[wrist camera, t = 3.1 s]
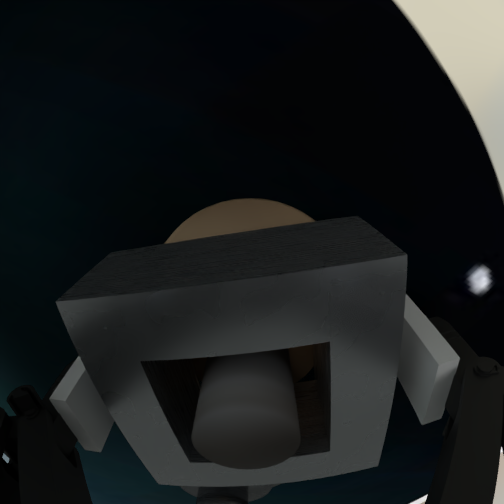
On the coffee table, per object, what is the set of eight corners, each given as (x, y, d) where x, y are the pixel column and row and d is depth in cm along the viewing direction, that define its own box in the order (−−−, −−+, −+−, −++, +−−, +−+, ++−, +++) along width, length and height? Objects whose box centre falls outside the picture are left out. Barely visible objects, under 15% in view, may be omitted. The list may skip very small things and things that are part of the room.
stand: (132, 217, 15) (16, 303, 6) (340, 184, 14) (447, 245, 6) (181, 378, 18) (148, 505, 9) (348, 358, 17) (393, 486, 9)
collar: (110, 252, 11) (55, 301, 7) (357, 215, 11) (407, 255, 7) (174, 420, 14) (158, 484, 10) (356, 401, 13) (377, 465, 10)
